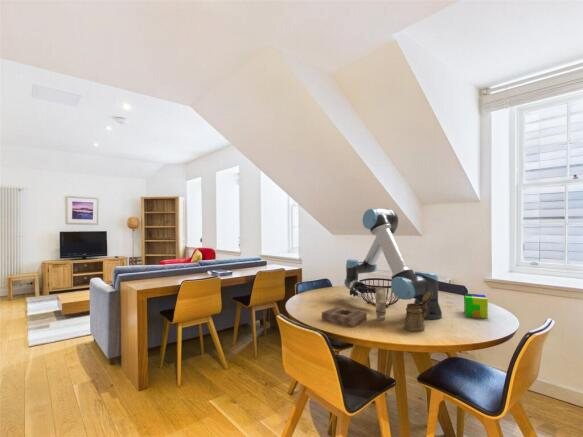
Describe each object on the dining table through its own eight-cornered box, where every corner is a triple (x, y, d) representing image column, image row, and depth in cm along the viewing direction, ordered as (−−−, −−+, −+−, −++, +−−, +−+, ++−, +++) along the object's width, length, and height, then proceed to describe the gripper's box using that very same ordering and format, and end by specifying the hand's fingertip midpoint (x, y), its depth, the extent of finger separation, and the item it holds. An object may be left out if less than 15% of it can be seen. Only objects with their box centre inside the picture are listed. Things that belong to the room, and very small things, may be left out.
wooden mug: (437, 331, 144) (437, 292, 145) (408, 332, 144) (407, 292, 144) (428, 325, 153) (428, 288, 153) (401, 325, 153) (400, 288, 153)
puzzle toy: (485, 313, 173) (484, 295, 173) (487, 318, 164) (487, 299, 164) (464, 311, 177) (464, 293, 177) (465, 316, 168) (465, 297, 168)
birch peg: (387, 319, 163) (387, 288, 164) (383, 321, 160) (383, 289, 160) (378, 317, 167) (378, 286, 167) (374, 319, 163) (373, 288, 163)
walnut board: (366, 320, 162) (366, 312, 162) (353, 327, 151) (352, 318, 151) (336, 313, 173) (336, 306, 174) (321, 319, 163) (321, 312, 163)
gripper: (376, 292, 196) (393, 301, 175) (338, 294, 192) (350, 303, 171) (376, 280, 196) (393, 287, 175) (338, 281, 192) (350, 289, 171)
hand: (372, 295), depth 173 cm, fingers open, 13 cm apart
